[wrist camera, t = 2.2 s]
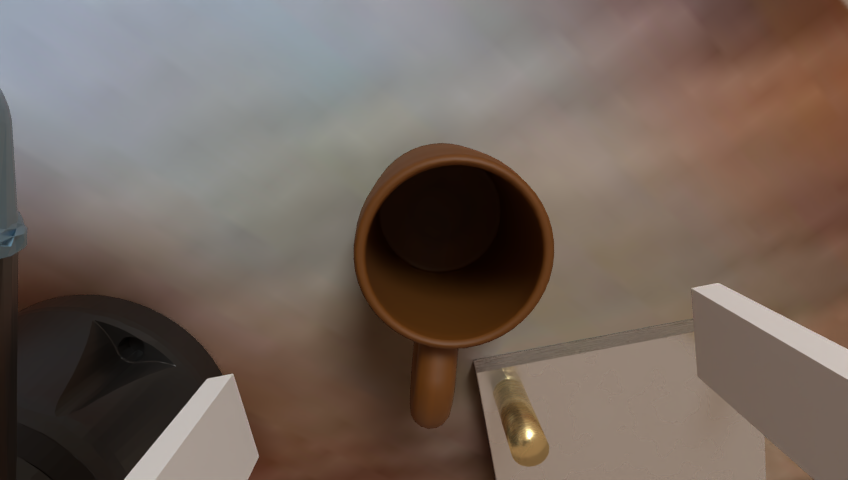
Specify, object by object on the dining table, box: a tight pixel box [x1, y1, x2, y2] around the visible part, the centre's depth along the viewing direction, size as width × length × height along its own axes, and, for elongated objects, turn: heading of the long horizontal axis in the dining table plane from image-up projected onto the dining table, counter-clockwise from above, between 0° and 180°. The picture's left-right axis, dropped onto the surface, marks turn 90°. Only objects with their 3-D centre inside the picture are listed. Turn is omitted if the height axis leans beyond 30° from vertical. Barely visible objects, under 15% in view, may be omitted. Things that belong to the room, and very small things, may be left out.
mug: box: [354, 143, 554, 429], centre depth 23 cm, size 12×8×9 cm, turn 174°
